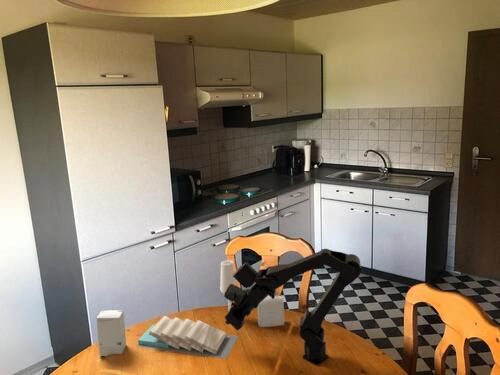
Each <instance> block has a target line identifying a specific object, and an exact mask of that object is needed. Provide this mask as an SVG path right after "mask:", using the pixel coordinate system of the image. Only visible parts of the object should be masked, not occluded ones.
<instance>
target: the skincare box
mask: <svg viewBox="0 0 500 375" xmlns="http://www.w3.org/2000/svg"><path fill="white" fill-rule="evenodd" d="M125 321H126V320H125V311H124V309H123V310H122V309H121V310H120V309H119V310H118V309H117V310H115V309H112V310H111V309H110V310H101V311H100V312H99V314H98V315H97V317H96V326H97V327H96V328H97V340H98V352H99V353H98V354H99V357H100V358H102V357H101V356H105V357H108V356H109V355H120V354H121V355H122V354H123V353H124V351H125V348H126V347H127V338H126V323H125Z"/></svg>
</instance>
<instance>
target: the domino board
mask: <svg viewBox="0 0 500 375" xmlns="http://www.w3.org/2000/svg"><path fill="white" fill-rule="evenodd" d="M238 338H239V335H233V334H232V335H231V334H227V336H226V338H225V340H224V341H223V343H222V345H221V346H220V348H219V349H218V351H217V353H216V354H214V353H212V352H210V351H207V350H205V349H204V351H203V352H200V351H198V350H196V349H194V348H192V349H191V351H189V350H187V349H185V348H183V347H180V348H179V349H177V348H175V347H173V346H171V345H170V347H169V348H164V347H156V346H149V345H141V344H138V345H137V346H136V347H138V348H145V349H153V350H159V351H166V352H174V353H180V354H186V355H187V354H188V355H194V356H195V355H197V356H202V357H203V356H204V357H211V358H217V359H227V358H228V355H229V354H230V353H231V351H232V349H233V347H234V345H235V343H236V342H237V340H238Z"/></svg>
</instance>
